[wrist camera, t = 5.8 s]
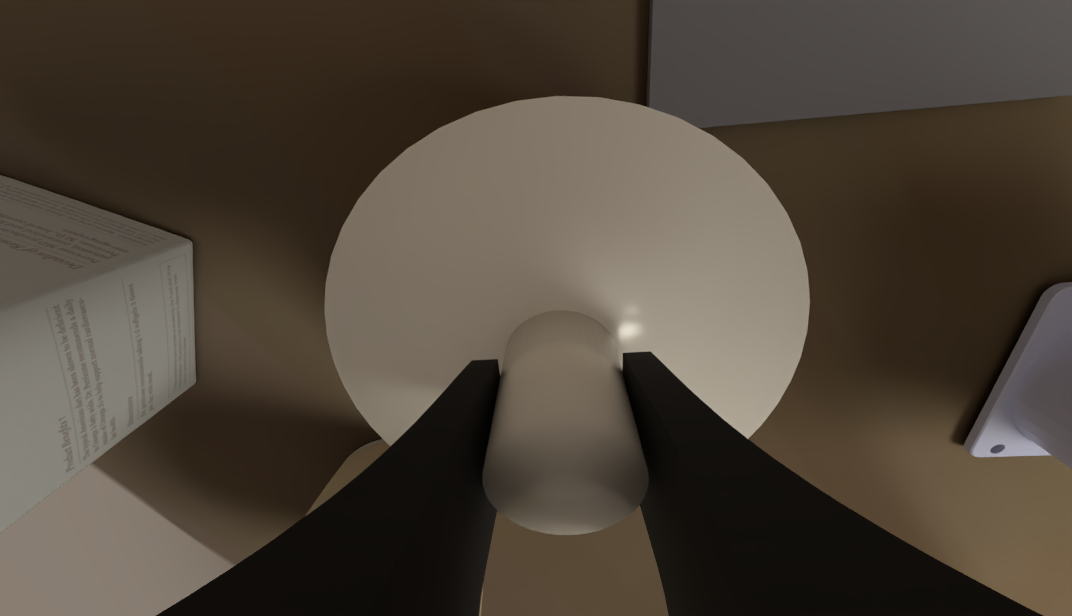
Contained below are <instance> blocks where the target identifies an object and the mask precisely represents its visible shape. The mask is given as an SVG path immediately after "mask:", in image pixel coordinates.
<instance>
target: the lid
mask: <svg viewBox="0 0 1072 616" xmlns="http://www.w3.org/2000/svg"><path fill="white" fill-rule="evenodd" d="M809 307H810V295H809V282H808V271H807V267H806V263H805V259H804V255H803V251H802V247H801V243H800V241H799V238H798V236H797V234H796V232H795V229H794V227H793V225H792V223H791V220H790V218H789V216H788V214H787V212H786V210H785V209H784V207H783V206H782V204H781V203H780V201H779V200H778V198H777V197H776V196H775V194H774V193H773V191H772V190H771V188H770V187H769V185H768V184H767V183H766V182H765V181H764V180H763V179H762V178H761V177H760V175H759V174H758V173H757V172H756V171H755V170H754V169H753V168H752V167H751V166H750V165H749V164H748V163H747V162H746V161H745V160H744V159H743V158H742V157H741V156H739V155H738V154H737V153H735V152H734V151H733V150H731V149H730V148H729V147H727V146H726V145H725V144H723V143H722V142H721V141H719V140H718V139H717V138H715V137H714V136H712V135H710V134H709V133H707V132H705V131H703V130H701V129H699V128H697V127H695V126H693V125H691V124H690V123H688V122H686V121H684V120H682V119H680V118H678V117H675V116H672V115H669V114H666V113H663V112H660V111H657V110H655V109H652V108H649V107H646V106H643V105H640V104H634V103H629V102H623V101H617V100H612V99H606V98H601V97H576V96H552V97H544V98H535V99H527V100H519V101H513V102H510V103H506V104H502V105H499V106H495V107H492V108H488V109H484V110H481V111H477V112H474V113H472V114H470V115H467V116H465V117H463V118H461V119H458V120H456V121H454V122H452V123H449V124H447V125H445V126H443V127H440V128H438V129H437V130H435V131H434V132H432V133H431V134H429V135H428V136H426V137H424V138H423V139H421V140H420V141H418V142H417V143H415V144H413V145H412V146H410V147H409V148H407V149H406V150H405V151H404V152H403V153H402V154H400V155H399V156H398V157H397V158H396V159H395V160H394V161H393V162H391V163H390V164H389V165H388V166H387V167H386V168H385V169H383V170H382V171H381V172H380V173H379V174H378V176H377V177H376V178H375V179H374V181H373V182H372V183H371V184H370V185H369V187H368V188H367V189H366V190H365V191H364V193H363V194H362V195H361V196H360V198H359V199H358V201H357V202H356V204H355V206H354V207H353V209H352V211H351V213H350V214H349V216H348V218H347V219H346V221H345V223H344V225H343V226H342V229H341V231H340V234H339V237H338V239H337V242H336V244H335V247H334V250H333V252H332V255H331V260H330V265H329V269H328V274H327V279H326V286H325V308H324V312H325V321H326V330H327V338H328V342H329V346H330V350H331V354H332V357H333V361H334V364H335V366H336V369H337V371H338V374H339V376H340V378H341V381H342V383H343V386H344V387H345V389H346V391H347V392H348V394H349V396H350V398H351V399H352V401H353V403H354V404H355V406H356V408H357V409H358V410H359V412H360V413H361V414H362V416H363V417H364V418H365V419H366V421H367V422H368V423H369V425H370V426H371V427H372V428H373V429H374V430H375V431H376V432H377V433H378V434H379V435H380V436H381V438H382V439H383V440H384V441H385V442H386V443H387V444H388V445H390V446H391V445H392V444H393V443H394V442H396V441H397V440H398V439H399V438H400V437H401V436H402V435H403V434H404V433H405V432H406V431H407V430H408V429H409V428H410V427H411V426H412V425H413V424H414V423H415V422H416V421H417V420H418V419H419V418H420V417H421V416H422V414H423V413H424V412H425V411H426V410H427V409H428V408H429V407H430V406H431V405H432V404H433V403H434V402H435V401H436V399H437V398H438V397H439V396H440V395H441V394H442V393H443V392H444V391H445V389H446V388H447V387H448V386H449V385H450V384H451V383H452V381H453V380H454V379H455V378H456V377H457V376H458V375H459V374H460V372H461V371H462V370H463V369H464V368H465V367H466V366H467V365H468V364H469V363H470V362H471V361H472V360H489V359H498V365H499V371H500V381H499V386H498V392H497V397H496V402H495V408H494V413H493V419H492V424H491V430H490V435H489V441H488V446H487V452H486V457H485V462H484V468H483V475H482V481H483V487H484V491H485V493H486V496H487V498H488V499H489V501H490V502H491V504H492V505H493V506H494V507H495V509H496V510H497V511H498V512H500V513H501V514H502V515H503V516H504V517H506V518H507V519H509V520H510V521H512V522H514V523H516V524H518V525H520V526H523V527H525V528H527V529H531V530H534V531H538V532H542V533H548V534H555V535H577V534H585V533H590V532H595V531H598V530H602V529H605V528H607V527H610V526H612V525H614V524H616V523H618V522H620V521H622V520H623V519H625V518H626V517H628V516H629V515H630V514H631V513H632V512H634V511H635V510H636V508H637V507H638V506H639V505H640V503H641V502H642V500H643V499H644V497H645V494H646V492H647V488H648V483H649V476H648V469H647V465H646V462H645V458H644V454H643V450H642V446H641V442H640V438H639V434H638V430H637V426H636V422H635V419H634V415H633V411H632V407H631V403H630V399H629V395H628V391H627V387H626V383H625V379H624V376H623V372H622V369H623V353H629V352H649V351H651V352H652V353H653V354H654V355H655V356H656V357H657V358H658V359H659V360H660V361H661V362H662V363H663V364H664V365H665V366H666V367H667V368H668V369H669V370H670V371H671V372H672V373H673V374H674V375H675V376H676V377H677V378H678V379H679V380H681V381H682V382H683V383H684V384H685V385H686V386H687V387H688V388H689V389H690V390H691V391H692V392H693V393H694V394H695V395H696V396H698V397H699V398H700V399H701V400H702V401H703V402H704V403H705V404H707V405H708V406H709V407H710V408H711V409H712V410H713V411H714V412H715V413H717V414H718V415H719V416H720V417H721V418H722V419H724V420H725V421H726V422H727V423H728V424H730V425H731V426H732V427H733V428H735V429H736V430H737V431H738V432H740V433H741V434H742V435H744V436H745V437H746V438H747V439H748V438H749V437H750V436H751V435H752V434H753V433H754V432H755V431H756V430H757V429H758V428H759V427H760V426H761V425H762V424H763V422H764V421H765V420H766V418H767V417H768V416H769V415H770V413H771V412H772V411H773V409H774V408H775V407H776V405H777V404H778V402H779V401H780V399H781V397H782V396H783V394H784V392H785V390H786V389H787V387H788V385H789V384H790V382H791V379H792V377H793V375H794V372H795V370H796V367H797V365H798V362H799V360H800V358H801V354H802V350H803V346H804V342H805V338H806V334H807V330H808V319H809Z"/></svg>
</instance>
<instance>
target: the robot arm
mask: <svg viewBox="0 0 1072 616" xmlns="http://www.w3.org/2000/svg"><path fill="white" fill-rule="evenodd" d="M622 372H623V376H624V379H625V383H626V387H627V391H628V395H629V399H630V403H631V407H632V411H633V415H634V419H635V422H636V426H637V430H638V434H639V438H640V442H641V446H642V450H643V454H644V458H645V462H646V465H647V469H648V476H649V483H648V488H647V492H646V494H645V497H644V499H643V500H642V502H641V503H640V507H641V510H642V514H643V517H644V521H645V524H646V528H647V531H648V534H649V538H650V541H651V545H652V548H653V552H654V555H655V559H656V562H657V566H658V569H659V573H660V577H661V582H662V586H663V590H664V594H665V598H666V603H667V608H668V613H669V616H1043V615H1041V614H1039V613H1037V612H1034V611H1032V610H1031V609H1029V608H1027V607H1025V606H1023V605H1021V604H1019V603H1017V602H1015V601H1013V600H1011V599H1009V598H1007V597H1006V596H1004V595H1002V594H1000V593H998V592H996V591H994V590H992V589H991V588H989V587H987V586H985V585H983V584H981V583H979V582H978V581H976V580H974V579H972V578H970V577H968V576H966V575H964V574H963V573H961V572H959V571H957V570H955V569H953V568H951V567H950V566H948V565H946V564H944V563H942V562H940V561H938V560H937V559H935V558H933V557H931V556H929V555H928V554H926V553H924V552H922V551H921V550H919V549H917V548H915V547H914V546H912V545H910V544H908V543H906V542H905V541H903V540H901V539H899V538H898V537H896V536H894V535H892V534H891V533H889V532H887V531H886V530H884V529H882V528H881V527H879V526H877V525H876V524H874V523H873V522H871V521H869V520H868V519H866V518H864V517H863V516H861V515H859V514H858V513H856V512H854V511H853V510H851V509H849V508H848V507H846V506H844V505H843V504H841V503H839V502H838V501H836V500H835V499H833V498H832V497H830V496H829V495H827V494H825V493H824V492H822V491H821V490H819V489H818V488H816V487H815V486H813V485H812V484H810V483H809V482H807V481H806V480H804V479H803V478H801V477H800V476H798V475H797V474H796V473H794V472H793V471H791V470H790V469H788V468H787V467H785V466H784V465H783V464H781V463H780V462H778V461H777V460H775V459H774V458H772V457H771V456H770V455H768V454H767V453H766V452H764V451H763V450H762V449H760V448H759V447H758V446H756V445H755V444H754V443H752V442H751V441H750V440H749V439H747V438H746V437H745V436H744V435H742V434H741V433H740V432H738V431H737V430H736V429H735V428H733V427H732V426H731V425H730V424H728V423H727V422H726V421H725V420H724V419H722V418H721V417H720V416H719V415H718V414H717V413H715V412H714V411H713V410H712V409H711V408H710V407H709V406H708V405H707V404H705V403H704V402H703V401H702V400H701V399H700V398H699V397H698V396H696V395H695V394H694V393H693V392H692V391H691V390H690V389H689V388H688V387H687V386H686V385H685V384H684V383H683V382H682V381H681V380H679V379H678V378H677V377H676V376H675V375H674V374H673V373H672V372H671V371H670V370H669V369H668V368H667V367H666V366H665V365H664V364H663V363H662V362H661V361H660V360H659V359H658V358H657V357H656V356H655V355H654V354H653V353H652V352H651V351H649V352H629V353H623V369H622ZM499 381H500V371H499V365H498V359H489V360H472V361H471V362H470V363H469V364H468V365H467V366H466V367H465V368H464V369H463V370H462V371H461V372H460V374H459V375H458V376H457V377H456V378H455V379H454V380H453V381H452V383H451V384H450V385H449V386H448V387H447V388H446V389H445V391H444V392H443V393H442V394H441V395H440V396H439V397H438V398H437V399H436V401H435V402H434V403H433V404H432V405H431V406H430V407H429V408H428V409H427V410H426V411H425V412H424V413H423V414H422V416H421V417H420V418H419V419H418V420H417V421H416V422H415V423H414V424H413V425H412V426H411V427H410V428H409V429H408V430H407V431H406V432H405V433H404V434H403V435H402V436H401V437H400V438H399V439H398V440H397V441H396V442H394V443H393V444H392V445H391V446H390V447H389V448H388V449H387V450H386V451H385V452H384V453H383V454H382V455H381V456H380V457H379V458H377V459H376V460H375V461H374V462H373V463H372V464H371V465H370V466H368V467H367V468H366V469H365V470H364V471H363V472H361V473H360V474H359V475H358V476H357V477H355V478H354V479H353V480H352V481H351V482H349V483H348V484H347V485H346V486H344V487H343V488H342V489H341V490H340V491H338V492H337V493H336V494H335V495H333V496H332V497H331V498H330V499H328V500H327V501H326V502H324V503H323V504H322V505H320V506H319V507H317V508H316V509H315V510H313V511H312V512H311V513H309V514H308V515H307V516H305V517H304V518H302V519H301V520H300V521H298V522H297V523H296V524H294V525H293V526H292V527H290V528H289V529H287V530H286V531H285V532H283V533H282V534H281V535H279V536H278V537H277V538H275V539H274V540H272V541H271V542H270V543H268V544H267V545H265V546H264V547H262V548H261V549H259V550H258V551H256V552H255V553H253V554H252V555H250V556H249V557H247V558H246V559H244V560H243V561H241V562H240V563H238V564H237V565H236V566H234V567H233V568H231V569H230V570H228V571H227V572H225V573H223V574H222V575H220V576H219V577H217V578H216V579H214V580H212V581H211V582H209V583H208V584H206V585H205V586H203V587H201V588H200V589H198V590H197V591H195V592H194V593H192V594H190V595H189V596H187V597H186V598H184V599H182V600H181V601H179V602H178V603H176V604H174V605H173V606H171V607H169V608H168V609H166V610H164V611H163V612H161V613H160V614H158V615H156V616H479V612H480V602H481V594H482V588H483V581H484V575H485V569H486V564H487V559H488V554H489V549H490V543H491V538H492V533H493V528H494V523H495V518H496V513H497V510H496V509H495V507H494V506H493V505H492V504H491V502H490V501H489V499H488V498H487V496H486V493H485V491H484V487H483V481H482V475H483V468H484V462H485V457H486V452H487V446H488V441H489V435H490V430H491V424H492V419H493V413H494V408H495V402H496V397H497V392H498V386H499ZM964 449H965V450H966V451H967V452H969V453H970V454H971V455H973V456H974V457H1003V456H1038V455H1052V456H1054V457H1055V458H1057V459H1058V460H1060V461H1061V462H1063V463H1064V464H1065V465H1067V466H1068V467H1070V468H1071V469H1072V282H1065V283H1059V284H1056V285H1053V286H1051V287H1049V288H1048V289H1047V290H1046V291H1044V293H1043V294H1042V295H1041V297H1040V299H1039V301H1038V303H1037V305H1036V307H1035V309H1034V311H1033V312H1032V314H1031V316H1030V318H1029V320H1028V322H1027V324H1026V326H1025V328H1024V330H1023V332H1022V334H1021V336H1020V337H1019V339H1018V341H1017V343H1016V345H1015V347H1014V349H1013V351H1012V353H1011V355H1010V357H1009V359H1008V360H1007V362H1006V364H1005V366H1004V368H1003V370H1002V372H1001V374H1000V376H999V378H998V380H997V382H996V384H995V385H994V387H993V389H992V391H991V393H990V395H989V397H988V399H987V401H986V403H985V405H984V407H983V408H982V410H981V412H980V414H979V416H978V418H977V420H976V422H975V424H974V426H973V428H972V430H971V431H970V433H969V435H968V437H967V439H966V441H965V443H964Z"/></svg>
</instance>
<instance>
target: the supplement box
mask: <svg viewBox="0 0 1072 616" xmlns="http://www.w3.org/2000/svg"><path fill="white" fill-rule="evenodd" d="M195 383H196V363H195V326H194V284H193V244H192V241H190V240H189V239H186V238H183V237H181V236H178V235H175V234H172V233H169V232H166V231H164V230H161V229H158V228H155V227H152V226H149V225H146V224H143V223H140V222H137V221H135V220H132V219H128V218H126V217H123V216H120V215H118V214H115V213H112V212H109V211H106V210H103V209H99V208H97V207H94V206H91V205H88V204H86V203H83V202H80V201H77V200H74V199H71V198H68V197H65V196H62V195H59V194H56V193H53V192H50V191H48V190H45V189H42V188H38V187H35V186H32V185H29V184H26V183H23V182H21V181H18V180H15V179H12V178H9V177H6V176H2V175H0V533H1V532H3V531H4V530H5V529H7V528H8V527H9V526H10V525H12V524H13V523H15V522H16V521H17V520H18V519H20V518H21V517H22V516H23V515H25V514H26V513H27V512H29V511H30V510H31V509H32V508H34V507H35V506H36V505H37V504H39V503H40V502H42V501H43V500H44V499H45V498H47V497H48V496H49V495H51V494H52V493H53V492H54V491H56V490H57V489H58V488H60V487H61V486H62V485H63V484H65V483H66V482H68V481H69V480H70V479H72V478H73V477H74V476H75V475H77V474H78V473H79V472H81V471H82V470H83V469H84V468H86V467H87V466H88V465H90V464H91V463H92V462H94V461H95V460H96V459H98V458H99V457H100V456H101V455H103V454H104V453H105V452H106V451H108V450H109V449H110V448H112V447H113V446H114V445H115V444H117V443H118V442H119V441H121V440H122V439H123V438H125V437H126V436H127V435H129V434H130V433H131V432H133V431H134V430H135V429H136V428H138V427H139V426H141V425H142V424H143V423H145V422H146V421H147V420H149V419H150V418H151V417H152V416H154V415H155V414H156V413H158V412H159V411H160V410H161V409H163V408H164V407H165V406H166V405H168V404H169V403H170V402H172V401H173V400H174V399H176V398H177V397H178V396H179V395H181V394H182V393H183V392H185V391H186V390H187V389H189V388H190V387H192V386H193V385H194V384H195Z"/></svg>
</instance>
